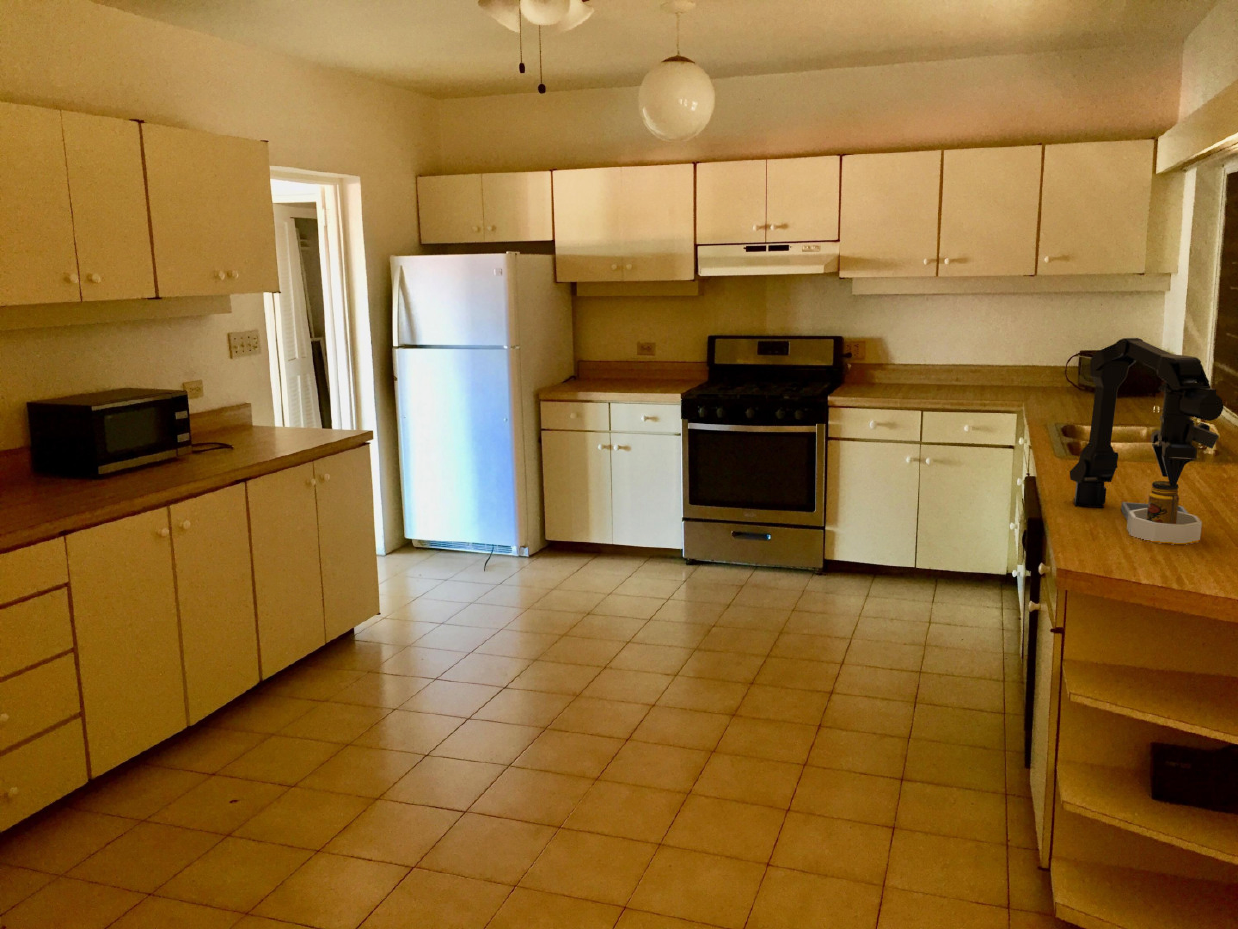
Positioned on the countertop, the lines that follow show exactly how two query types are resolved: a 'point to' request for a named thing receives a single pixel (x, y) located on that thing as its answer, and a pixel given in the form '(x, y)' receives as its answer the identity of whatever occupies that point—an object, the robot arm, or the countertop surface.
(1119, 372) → the robot arm
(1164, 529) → the bowl
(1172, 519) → the condiment
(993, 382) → the countertop surface
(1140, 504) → the open square frame
